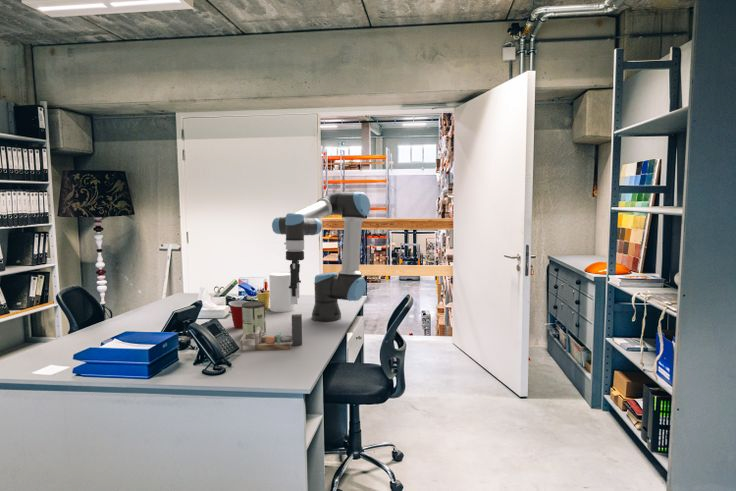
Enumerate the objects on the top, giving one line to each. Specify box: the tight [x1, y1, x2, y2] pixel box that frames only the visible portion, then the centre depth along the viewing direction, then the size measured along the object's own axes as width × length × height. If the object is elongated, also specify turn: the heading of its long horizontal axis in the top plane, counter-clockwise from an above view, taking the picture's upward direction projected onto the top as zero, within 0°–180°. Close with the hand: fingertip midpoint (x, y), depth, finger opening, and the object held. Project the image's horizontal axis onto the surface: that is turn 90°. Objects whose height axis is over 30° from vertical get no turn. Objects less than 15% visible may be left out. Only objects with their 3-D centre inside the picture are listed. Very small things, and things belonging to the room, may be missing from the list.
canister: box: [268, 271, 296, 313], centre depth 263 cm, size 14×14×20 cm
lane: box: [239, 327, 292, 351], centre depth 197 cm, size 20×12×6 cm, turn 96°
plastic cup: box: [228, 300, 249, 330], centre depth 226 cm, size 11×11×12 cm
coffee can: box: [242, 300, 267, 337], centre depth 214 cm, size 10×10×14 cm
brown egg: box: [265, 335, 276, 344], centre depth 198 cm, size 4×4×4 cm
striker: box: [276, 313, 303, 346], centre depth 198 cm, size 10×4×12 cm, turn 96°
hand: (295, 301), depth 198 cm, fingers open, 13 cm apart
